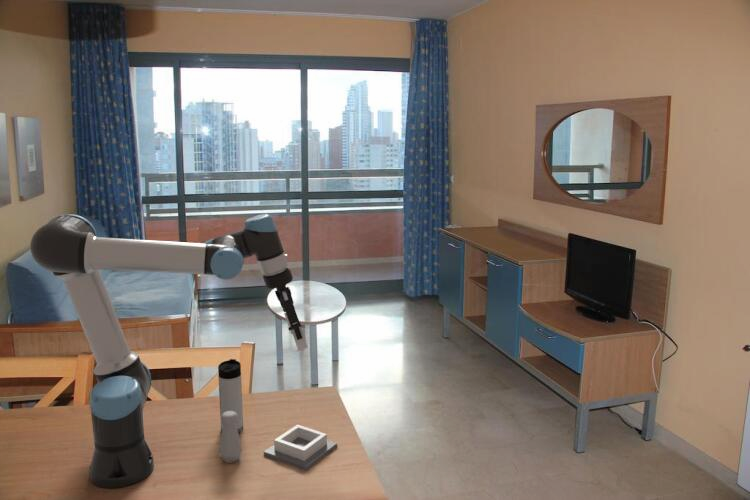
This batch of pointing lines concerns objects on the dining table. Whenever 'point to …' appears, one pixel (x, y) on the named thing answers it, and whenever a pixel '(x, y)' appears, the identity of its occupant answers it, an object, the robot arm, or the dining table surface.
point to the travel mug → (231, 390)
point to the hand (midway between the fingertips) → (299, 340)
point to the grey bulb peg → (230, 438)
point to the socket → (300, 447)
